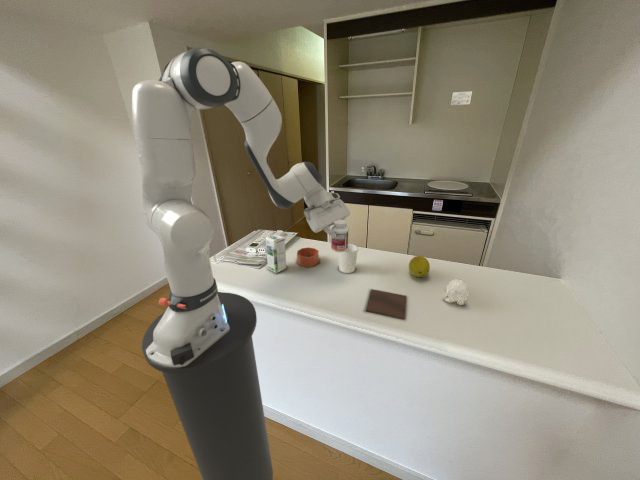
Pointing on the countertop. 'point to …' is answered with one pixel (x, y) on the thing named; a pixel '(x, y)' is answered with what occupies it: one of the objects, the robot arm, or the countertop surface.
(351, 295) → the countertop surface
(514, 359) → the countertop surface
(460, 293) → the white lumpy piece
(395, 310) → the walnut board
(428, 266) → the lemon
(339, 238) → the pill bottle
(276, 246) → the syrup box
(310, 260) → the orange round bowl
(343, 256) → the white cup
